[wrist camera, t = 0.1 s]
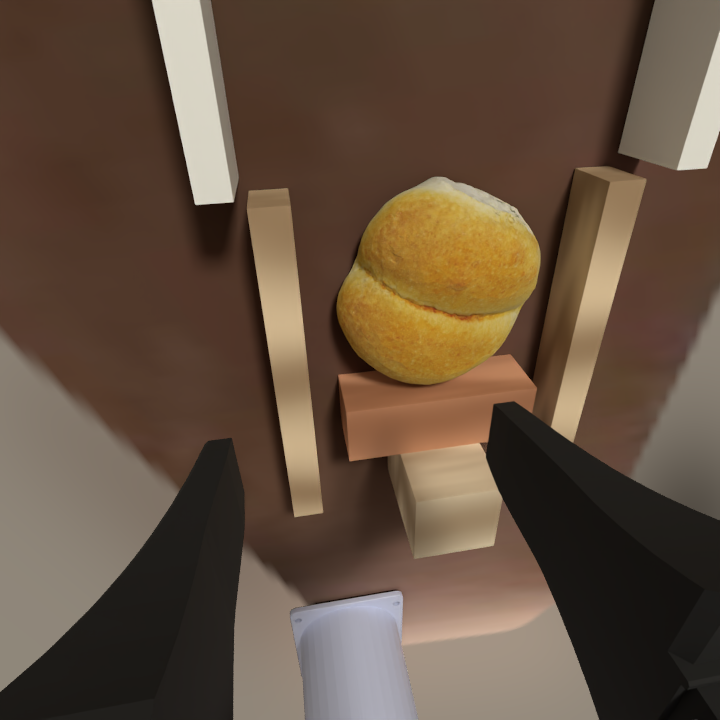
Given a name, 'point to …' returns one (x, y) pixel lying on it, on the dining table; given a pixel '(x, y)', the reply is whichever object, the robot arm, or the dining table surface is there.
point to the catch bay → (640, 135)
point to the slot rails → (560, 332)
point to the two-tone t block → (435, 448)
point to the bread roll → (437, 282)
